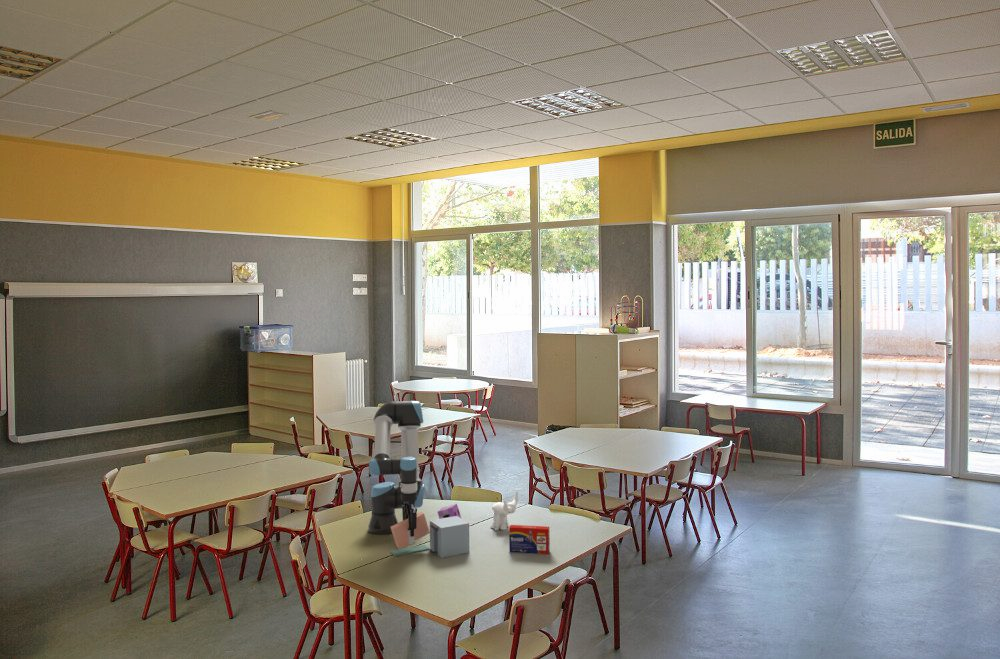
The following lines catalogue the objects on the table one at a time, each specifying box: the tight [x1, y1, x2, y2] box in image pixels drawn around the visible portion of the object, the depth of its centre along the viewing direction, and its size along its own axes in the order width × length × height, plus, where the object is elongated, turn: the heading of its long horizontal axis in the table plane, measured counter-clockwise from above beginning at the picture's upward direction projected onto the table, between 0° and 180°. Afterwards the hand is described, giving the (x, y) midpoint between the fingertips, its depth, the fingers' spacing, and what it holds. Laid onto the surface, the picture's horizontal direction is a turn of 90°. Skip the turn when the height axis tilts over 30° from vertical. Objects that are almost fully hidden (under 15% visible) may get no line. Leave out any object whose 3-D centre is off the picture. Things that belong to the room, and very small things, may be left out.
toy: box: [437, 503, 463, 519], centre depth 358 cm, size 11×8×15 cm
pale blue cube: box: [429, 516, 470, 559], centre depth 336 cm, size 13×15×14 cm
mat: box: [389, 544, 431, 557], centre depth 337 cm, size 6×17×1 cm, turn 119°
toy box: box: [508, 524, 551, 555], centre depth 334 cm, size 18×4×12 cm, turn 79°
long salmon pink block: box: [391, 511, 430, 549], centre depth 337 cm, size 4×16×10 cm, turn 121°
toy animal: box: [490, 490, 519, 531], centre depth 369 cm, size 20×12×17 cm, turn 161°
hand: (409, 541), depth 337 cm, fingers closed on long salmon pink block, 4 cm apart
